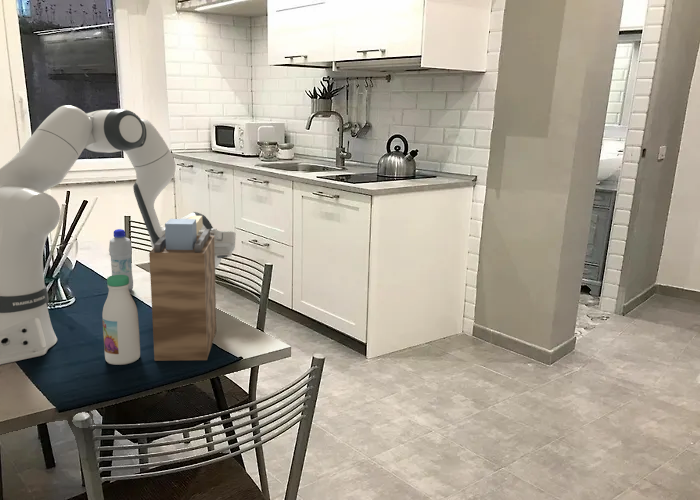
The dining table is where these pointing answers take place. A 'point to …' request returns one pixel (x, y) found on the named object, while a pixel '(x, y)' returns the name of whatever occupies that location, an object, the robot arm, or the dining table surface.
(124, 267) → the bottle
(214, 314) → the walnut stand
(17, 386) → the dining table surface
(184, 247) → the block with handle
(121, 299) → the milk bottle
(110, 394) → the dining table surface
